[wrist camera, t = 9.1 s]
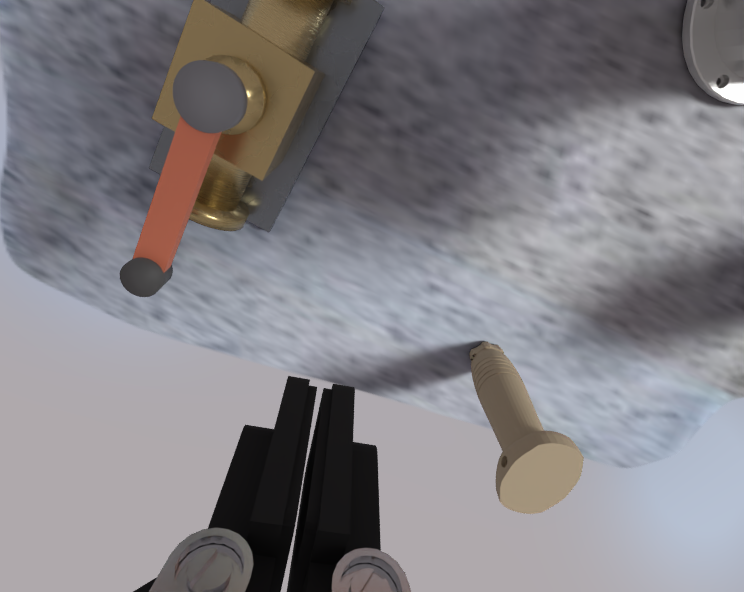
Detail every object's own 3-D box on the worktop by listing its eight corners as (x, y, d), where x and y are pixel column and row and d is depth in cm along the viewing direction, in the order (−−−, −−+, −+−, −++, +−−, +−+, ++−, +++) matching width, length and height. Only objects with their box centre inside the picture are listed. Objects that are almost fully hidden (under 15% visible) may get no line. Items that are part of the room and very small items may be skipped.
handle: (448, 373, 43) (485, 504, 30) (476, 319, 41) (531, 435, 27) (492, 386, 44) (548, 519, 31) (522, 334, 42) (598, 454, 28)
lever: (195, 48, 21) (182, 45, 20) (257, 83, 22) (248, 83, 21) (122, 270, 26) (106, 282, 25) (174, 293, 27) (162, 306, 26)
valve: (248, -87, 28) (186, -177, 18) (383, 9, 30) (392, -25, 21) (154, 166, 34) (72, 197, 25) (271, 228, 37) (238, 280, 27)
